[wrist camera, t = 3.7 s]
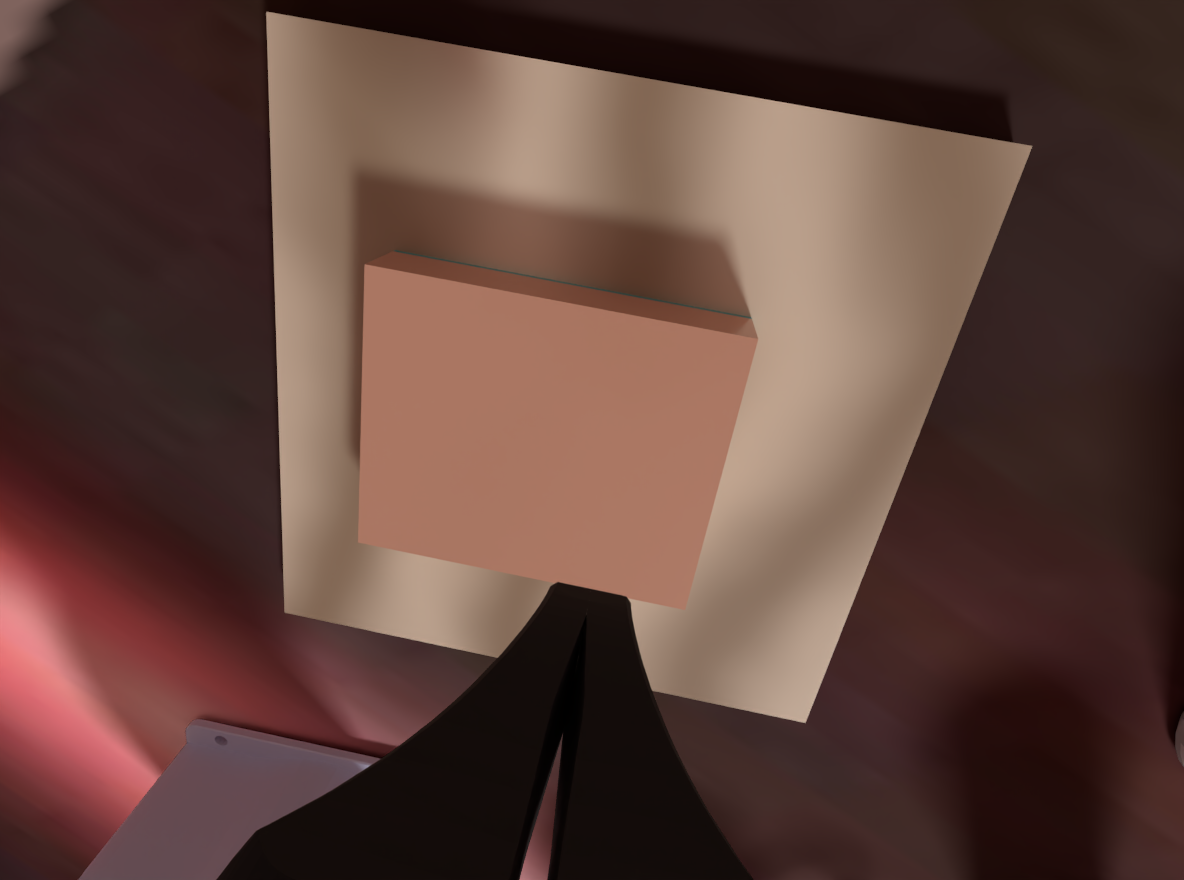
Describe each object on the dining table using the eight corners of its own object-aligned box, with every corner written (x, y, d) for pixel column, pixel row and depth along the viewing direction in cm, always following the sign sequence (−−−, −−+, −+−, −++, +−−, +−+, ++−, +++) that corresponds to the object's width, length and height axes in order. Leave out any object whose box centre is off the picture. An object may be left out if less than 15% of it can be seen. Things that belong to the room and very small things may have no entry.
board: (298, 594, 26) (284, 612, 25) (287, 17, 18) (266, 11, 17) (801, 700, 25) (805, 722, 24) (1014, 144, 17) (1032, 146, 16)
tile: (685, 569, 22) (384, 507, 22) (751, 316, 19) (395, 250, 19) (684, 610, 20) (357, 542, 21) (758, 339, 17) (364, 264, 17)
